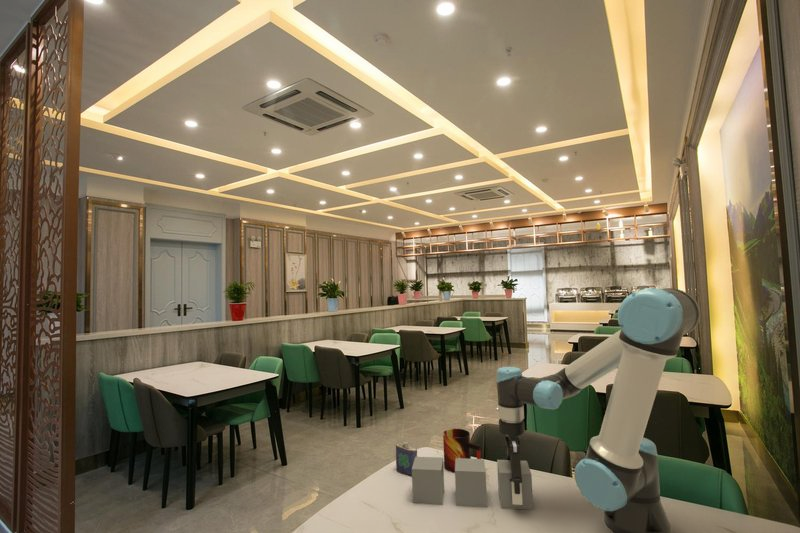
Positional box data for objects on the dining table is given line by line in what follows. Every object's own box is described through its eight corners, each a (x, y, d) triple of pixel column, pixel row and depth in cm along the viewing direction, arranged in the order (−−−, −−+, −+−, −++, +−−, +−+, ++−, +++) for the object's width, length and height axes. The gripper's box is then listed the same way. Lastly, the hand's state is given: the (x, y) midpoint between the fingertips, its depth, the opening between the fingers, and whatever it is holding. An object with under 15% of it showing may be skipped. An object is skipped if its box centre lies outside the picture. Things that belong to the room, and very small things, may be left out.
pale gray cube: (485, 491, 123) (484, 459, 124) (487, 507, 114) (485, 472, 115) (456, 490, 125) (455, 458, 125) (456, 505, 116) (454, 470, 116)
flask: (419, 475, 136) (418, 443, 137) (414, 478, 134) (412, 446, 135) (399, 468, 142) (398, 437, 143) (393, 471, 140) (392, 440, 140)
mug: (481, 475, 134) (480, 440, 135) (442, 471, 138) (440, 436, 139) (484, 464, 143) (482, 430, 144) (447, 460, 147) (445, 427, 148)
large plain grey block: (444, 489, 125) (443, 457, 126) (442, 504, 116) (441, 470, 117) (416, 488, 127) (415, 456, 127) (412, 503, 118) (411, 468, 119)
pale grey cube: (528, 493, 121) (526, 460, 122) (533, 509, 112) (531, 474, 113) (498, 492, 123) (497, 459, 123) (501, 508, 114) (499, 472, 114)
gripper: (495, 407, 131) (498, 474, 130) (502, 432, 108) (506, 514, 107) (518, 408, 130) (522, 475, 128) (530, 433, 107) (534, 516, 105)
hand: (514, 493), depth 118 cm, fingers open, 11 cm apart
